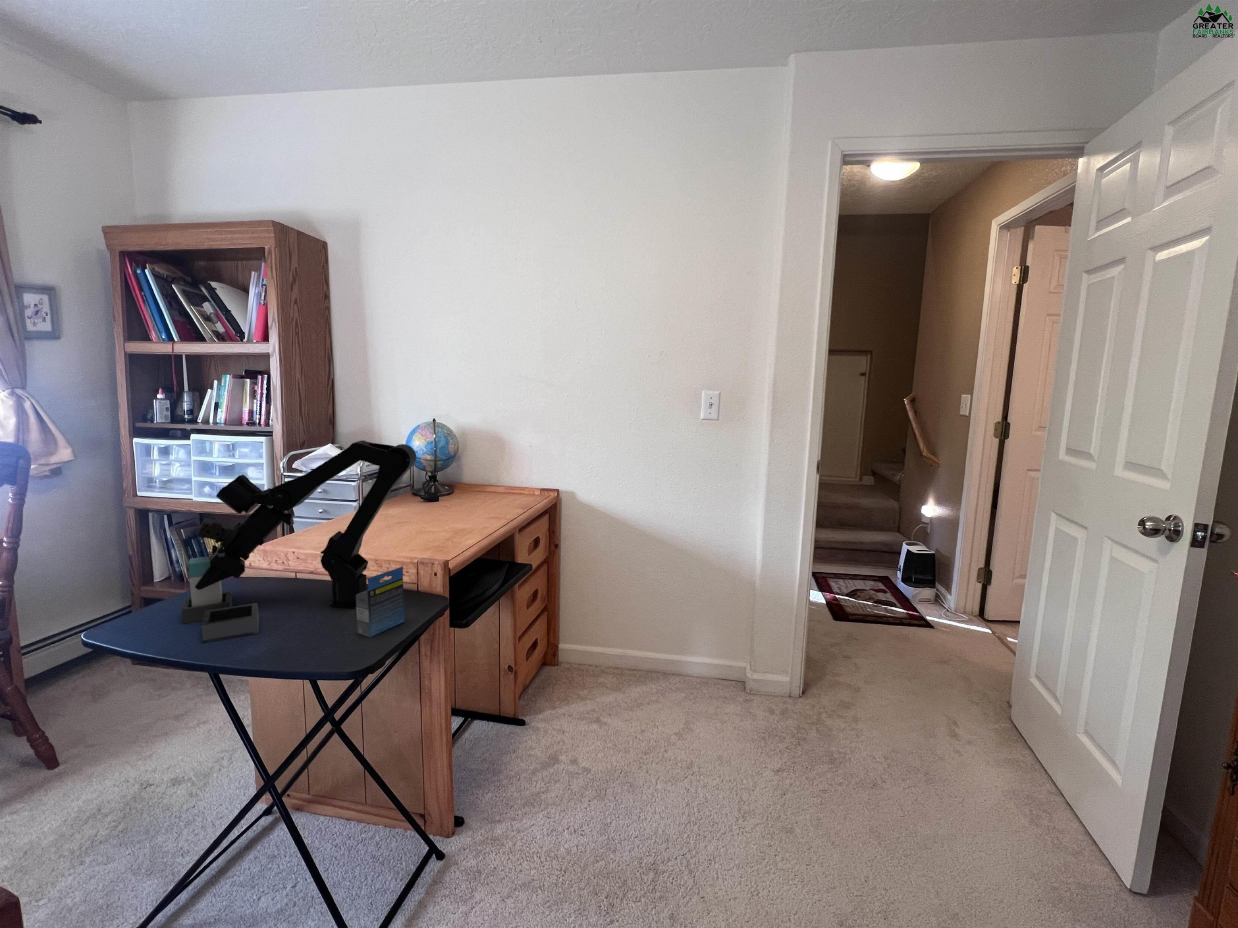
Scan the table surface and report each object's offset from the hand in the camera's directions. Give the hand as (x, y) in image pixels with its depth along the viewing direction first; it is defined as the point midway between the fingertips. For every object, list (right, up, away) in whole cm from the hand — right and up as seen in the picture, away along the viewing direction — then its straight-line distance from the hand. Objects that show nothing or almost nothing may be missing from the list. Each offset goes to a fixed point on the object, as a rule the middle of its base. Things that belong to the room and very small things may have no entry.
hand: (197, 585), depth 121 cm
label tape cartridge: (+40, -8, -3) cm, 41 cm away
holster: (+1, -6, +2) cm, 7 cm away
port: (+11, -8, -6) cm, 15 cm away
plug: (+1, -7, +2) cm, 7 cm away
